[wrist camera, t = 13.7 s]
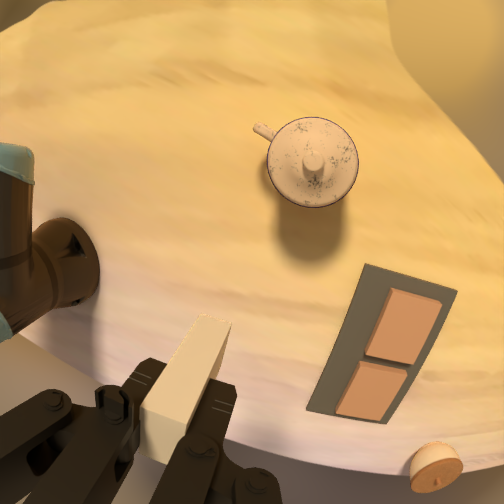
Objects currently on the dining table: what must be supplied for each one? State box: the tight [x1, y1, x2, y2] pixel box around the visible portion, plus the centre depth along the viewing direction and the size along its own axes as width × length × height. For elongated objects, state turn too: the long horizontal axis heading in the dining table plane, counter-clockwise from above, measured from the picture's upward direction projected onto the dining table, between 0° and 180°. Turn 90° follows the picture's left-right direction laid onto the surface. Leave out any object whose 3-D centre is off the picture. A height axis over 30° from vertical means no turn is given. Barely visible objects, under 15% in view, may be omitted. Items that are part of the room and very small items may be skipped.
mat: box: [306, 263, 458, 424], centre depth 43 cm, size 15×26×1 cm, turn 167°
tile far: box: [335, 361, 407, 421], centre depth 44 cm, size 2×10×8 cm
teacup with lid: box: [253, 117, 359, 208], centre depth 33 cm, size 12×9×12 cm
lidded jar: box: [409, 442, 463, 493], centre depth 43 cm, size 11×11×9 cm
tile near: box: [364, 288, 442, 364], centre depth 40 cm, size 2×10×8 cm
